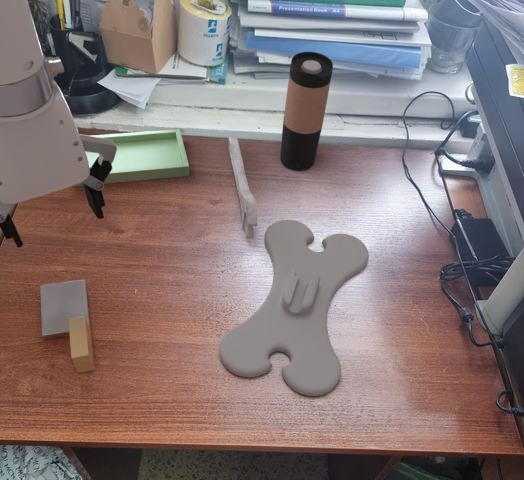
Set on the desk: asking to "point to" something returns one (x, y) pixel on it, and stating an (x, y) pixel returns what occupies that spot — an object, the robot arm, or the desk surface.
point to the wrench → (243, 189)
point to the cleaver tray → (145, 156)
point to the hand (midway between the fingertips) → (57, 225)
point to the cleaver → (69, 319)
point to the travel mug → (305, 109)
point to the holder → (296, 309)
